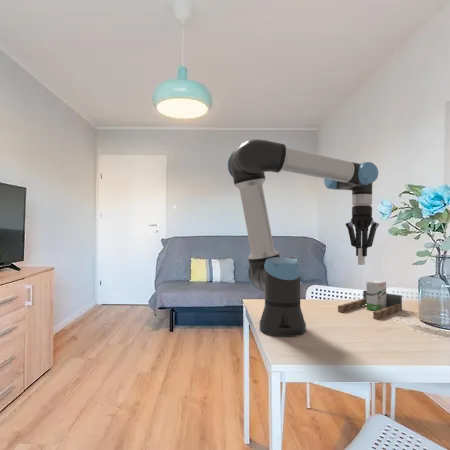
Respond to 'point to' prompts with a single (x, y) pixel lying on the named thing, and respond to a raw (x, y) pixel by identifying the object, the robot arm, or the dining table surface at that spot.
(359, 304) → the guide channel
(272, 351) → the dining table surface
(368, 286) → the ink box
